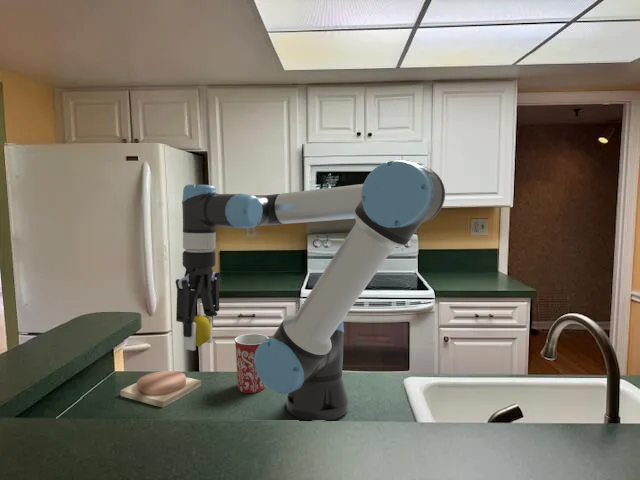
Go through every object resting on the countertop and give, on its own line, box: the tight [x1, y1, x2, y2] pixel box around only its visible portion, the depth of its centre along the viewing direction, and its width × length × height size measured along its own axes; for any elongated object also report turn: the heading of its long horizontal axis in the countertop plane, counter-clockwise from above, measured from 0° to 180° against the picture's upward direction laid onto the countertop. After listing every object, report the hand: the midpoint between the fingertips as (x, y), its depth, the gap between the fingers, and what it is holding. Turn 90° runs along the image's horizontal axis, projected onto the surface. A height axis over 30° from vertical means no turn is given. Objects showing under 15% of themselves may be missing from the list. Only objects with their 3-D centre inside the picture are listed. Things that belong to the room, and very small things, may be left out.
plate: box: [119, 370, 202, 409], centre depth 114 cm, size 14×14×3 cm
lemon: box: [193, 313, 211, 348], centre depth 105 cm, size 6×6×8 cm
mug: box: [234, 333, 270, 394], centre depth 118 cm, size 13×9×14 cm
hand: (198, 345), depth 106 cm, fingers closed on lemon, 5 cm apart
